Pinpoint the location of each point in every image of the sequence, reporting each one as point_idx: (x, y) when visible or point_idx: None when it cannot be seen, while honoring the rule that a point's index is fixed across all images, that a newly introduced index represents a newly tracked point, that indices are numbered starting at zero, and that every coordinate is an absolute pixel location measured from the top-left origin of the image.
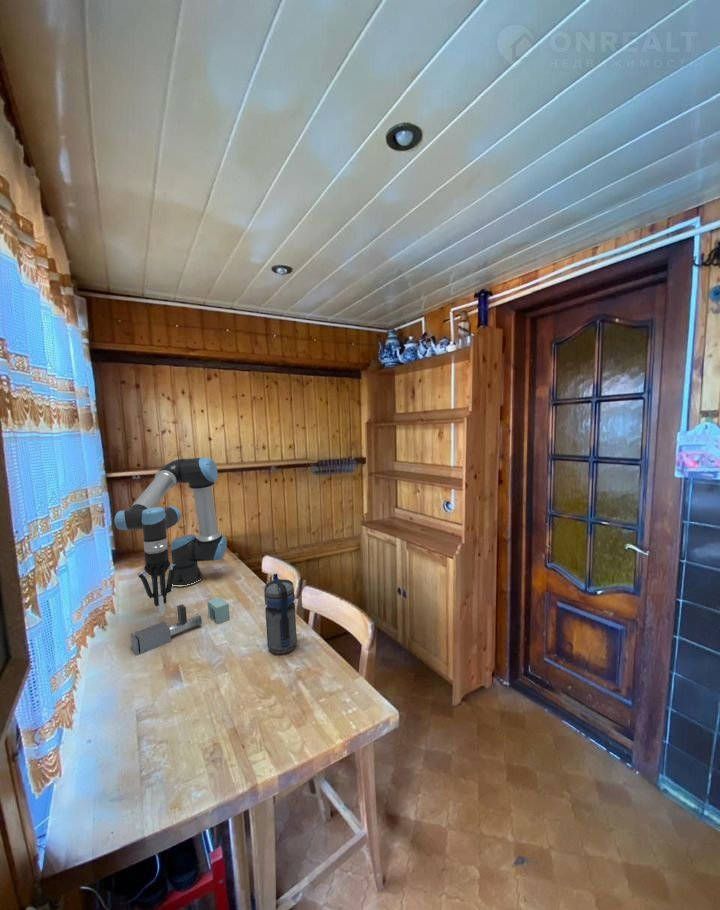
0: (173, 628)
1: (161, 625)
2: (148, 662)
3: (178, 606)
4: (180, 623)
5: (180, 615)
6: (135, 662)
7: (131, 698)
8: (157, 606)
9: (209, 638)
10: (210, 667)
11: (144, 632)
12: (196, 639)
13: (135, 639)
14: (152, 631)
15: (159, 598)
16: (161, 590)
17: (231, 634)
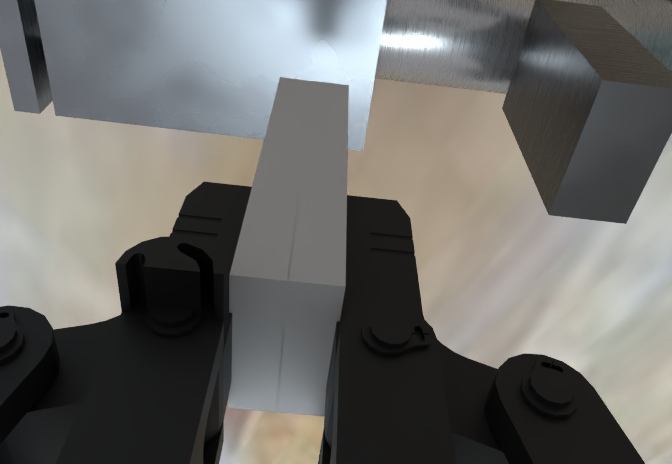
0: (421, 82)
1: (327, 11)
2: (140, 211)
3: (603, 110)
4: (512, 77)
5: (530, 150)
6: (62, 140)
7: None
8: (266, 137)
9: (552, 275)
10: None
11: (123, 9)
12: (497, 217)
13: (19, 81)
14: (202, 67)
15: (245, 391)
16: (349, 425)
17: (655, 339)
